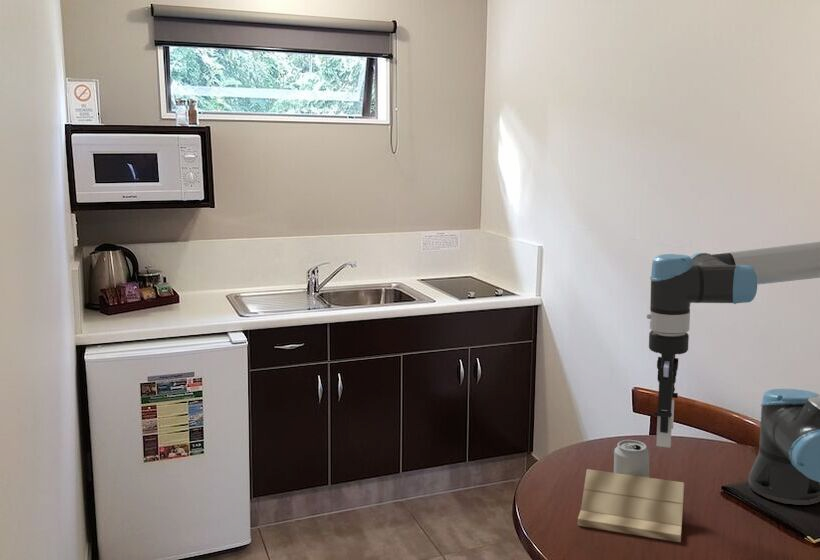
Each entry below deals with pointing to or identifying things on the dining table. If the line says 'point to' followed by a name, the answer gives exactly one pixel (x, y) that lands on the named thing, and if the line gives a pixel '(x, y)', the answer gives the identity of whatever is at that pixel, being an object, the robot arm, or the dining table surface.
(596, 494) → the plank
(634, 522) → the laid board
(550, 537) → the dining table surface
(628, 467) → the can
